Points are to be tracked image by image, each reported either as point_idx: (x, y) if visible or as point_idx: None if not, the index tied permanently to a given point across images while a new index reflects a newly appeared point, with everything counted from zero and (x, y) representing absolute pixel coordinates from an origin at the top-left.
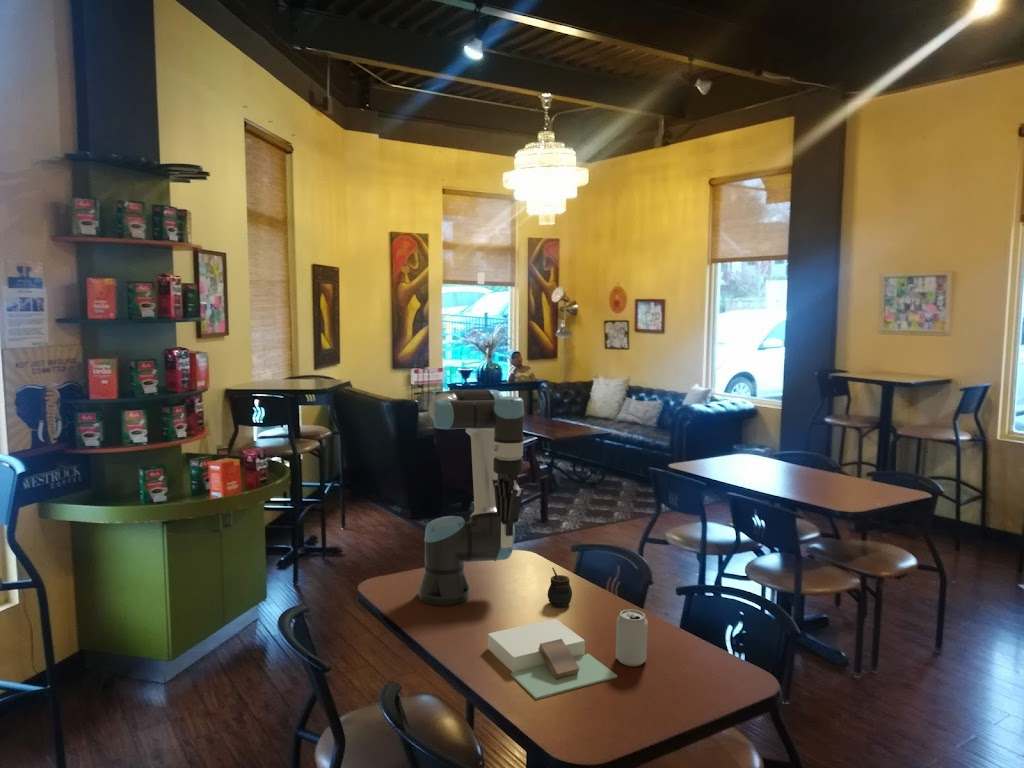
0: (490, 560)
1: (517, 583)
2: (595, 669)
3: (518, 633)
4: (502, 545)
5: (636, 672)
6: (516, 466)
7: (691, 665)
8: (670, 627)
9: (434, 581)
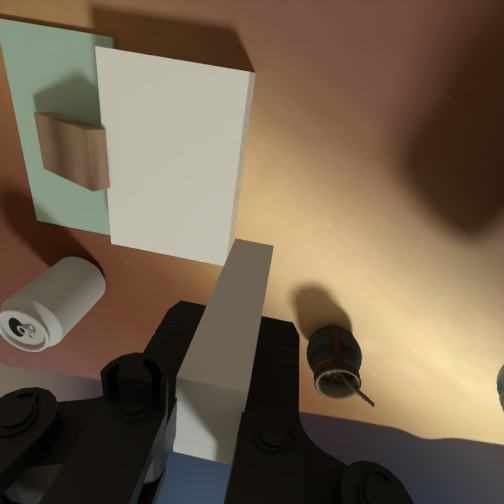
0: None
1: (483, 350)
2: (66, 205)
3: (206, 147)
4: (245, 248)
5: (46, 254)
6: None
7: None
8: None
9: None
